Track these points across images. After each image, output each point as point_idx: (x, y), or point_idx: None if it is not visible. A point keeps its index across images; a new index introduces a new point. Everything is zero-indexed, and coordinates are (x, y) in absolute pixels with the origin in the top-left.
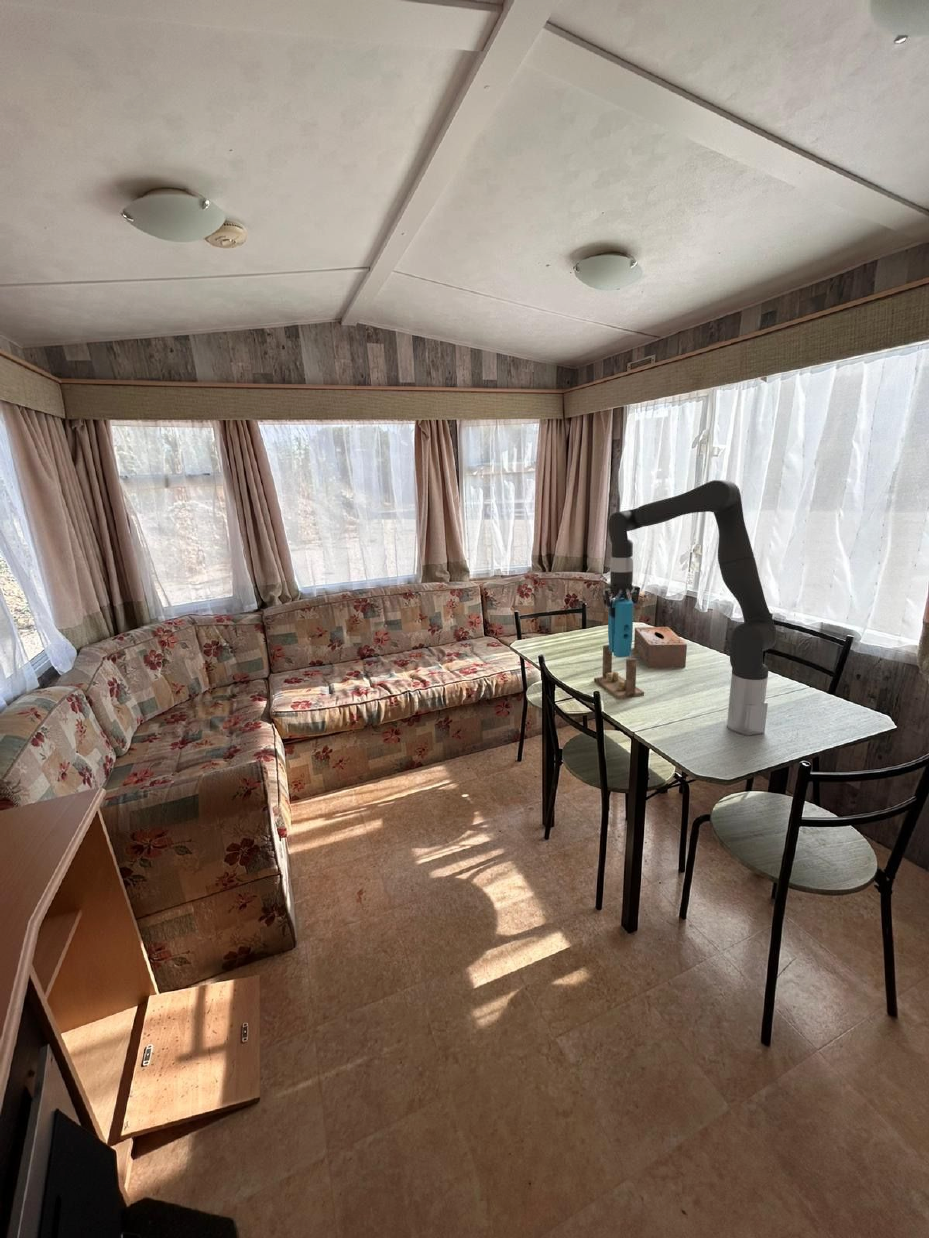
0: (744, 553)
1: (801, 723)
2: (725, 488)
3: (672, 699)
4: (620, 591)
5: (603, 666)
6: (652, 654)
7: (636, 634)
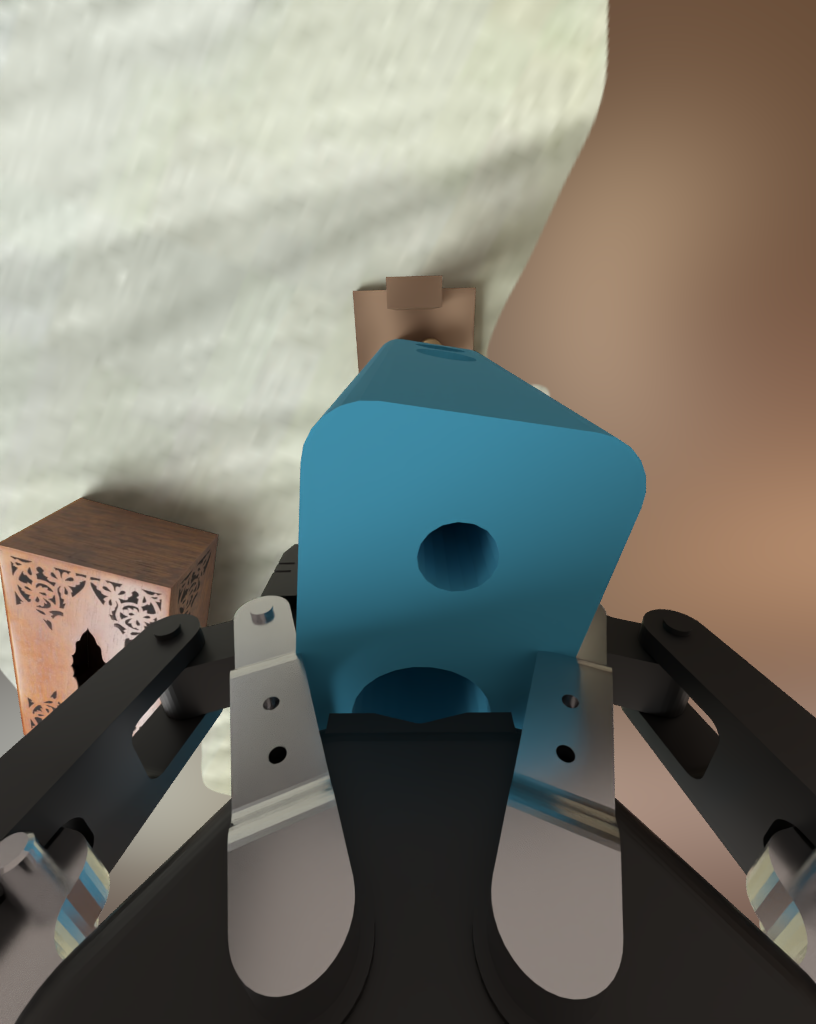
0: None
1: None
2: None
3: (259, 200)
4: (567, 897)
5: None
6: (179, 559)
7: None
